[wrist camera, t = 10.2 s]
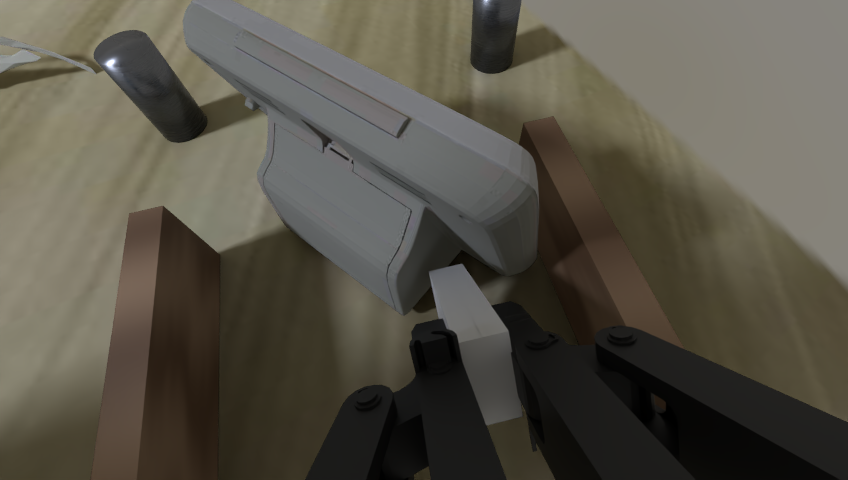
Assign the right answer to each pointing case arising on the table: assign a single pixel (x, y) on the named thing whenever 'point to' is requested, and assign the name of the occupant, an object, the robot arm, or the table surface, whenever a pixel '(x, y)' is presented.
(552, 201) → the chute
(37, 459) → the table surface
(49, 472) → the table surface
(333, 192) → the digital clock
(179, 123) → the posts
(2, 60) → the skeletal model
